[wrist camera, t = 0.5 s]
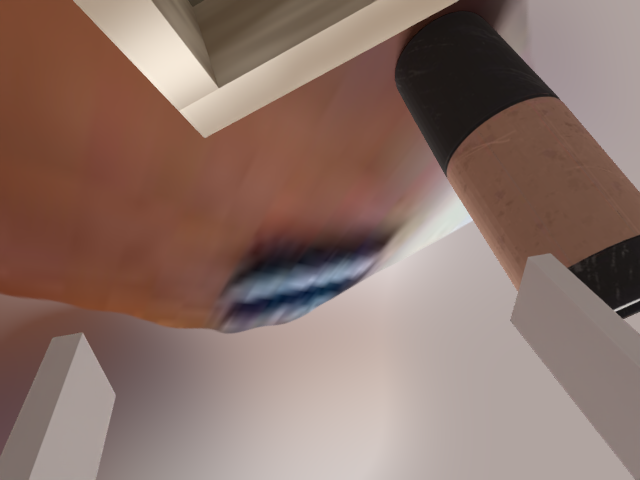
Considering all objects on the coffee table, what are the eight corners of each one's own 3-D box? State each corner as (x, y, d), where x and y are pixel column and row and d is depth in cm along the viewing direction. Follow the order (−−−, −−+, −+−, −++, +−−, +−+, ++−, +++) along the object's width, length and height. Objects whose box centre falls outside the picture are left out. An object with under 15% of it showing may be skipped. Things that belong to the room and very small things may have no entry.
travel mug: (487, -19, 26) (742, 254, 17) (494, 65, 33) (681, 295, 23) (377, 51, 28) (553, 334, 19) (404, 118, 34) (545, 351, 25)
